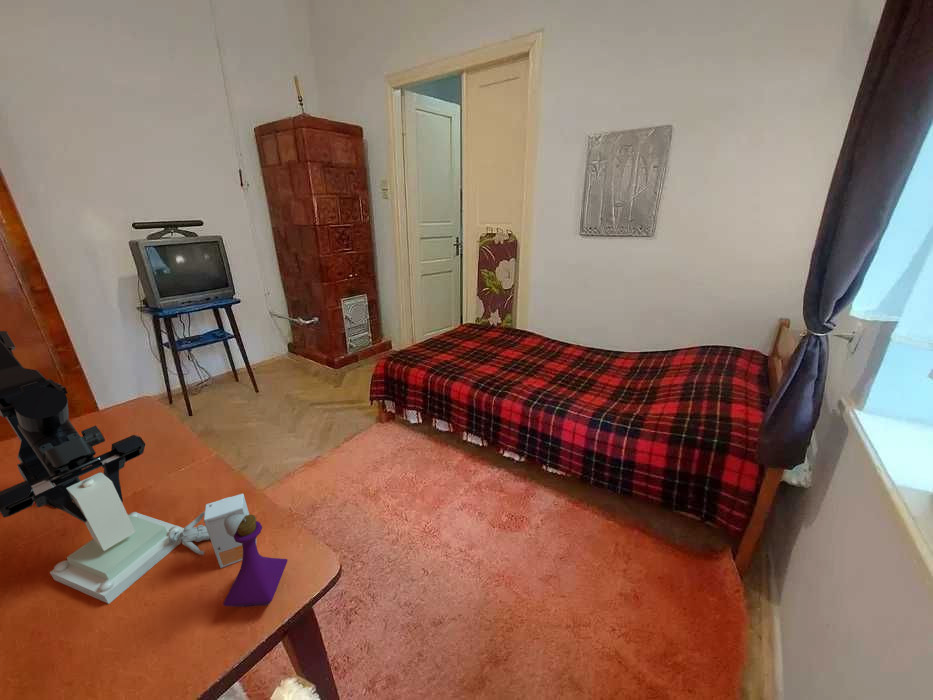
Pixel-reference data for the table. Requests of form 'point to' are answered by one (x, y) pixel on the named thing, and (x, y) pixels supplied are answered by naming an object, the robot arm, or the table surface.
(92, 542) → the studded pedestal base
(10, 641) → the table surface
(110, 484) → the tall brick
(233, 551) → the skincare box
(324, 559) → the table surface
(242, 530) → the perfume bottle
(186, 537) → the soldier figure
